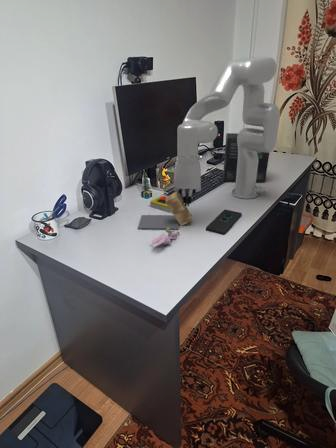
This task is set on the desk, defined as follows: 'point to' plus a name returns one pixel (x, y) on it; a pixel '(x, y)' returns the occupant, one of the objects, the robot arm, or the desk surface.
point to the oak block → (178, 208)
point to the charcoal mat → (158, 222)
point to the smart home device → (224, 222)
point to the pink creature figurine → (165, 237)
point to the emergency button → (160, 204)
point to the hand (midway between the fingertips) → (187, 204)
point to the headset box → (232, 160)
